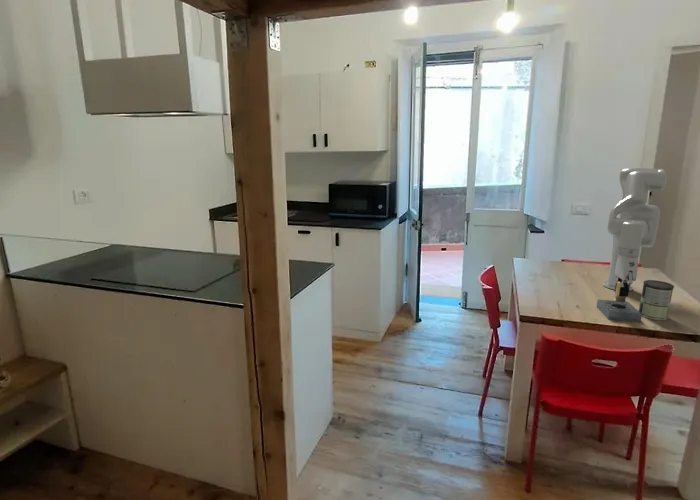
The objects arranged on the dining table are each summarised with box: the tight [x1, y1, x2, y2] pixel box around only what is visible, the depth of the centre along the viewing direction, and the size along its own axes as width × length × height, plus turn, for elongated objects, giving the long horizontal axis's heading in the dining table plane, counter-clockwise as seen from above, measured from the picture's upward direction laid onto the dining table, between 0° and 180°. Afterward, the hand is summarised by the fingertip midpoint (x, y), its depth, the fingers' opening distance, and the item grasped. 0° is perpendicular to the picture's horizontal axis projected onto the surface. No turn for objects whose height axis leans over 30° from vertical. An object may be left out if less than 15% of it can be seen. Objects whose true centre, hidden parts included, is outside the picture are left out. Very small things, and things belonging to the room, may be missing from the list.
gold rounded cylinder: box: [613, 281, 627, 302], centre depth 177 cm, size 4×4×8 cm
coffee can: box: [638, 279, 675, 321], centre depth 177 cm, size 10×10×14 cm
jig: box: [596, 299, 643, 323], centre depth 180 cm, size 14×12×4 cm
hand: (621, 294), depth 178 cm, fingers closed on gold rounded cylinder, 4 cm apart
